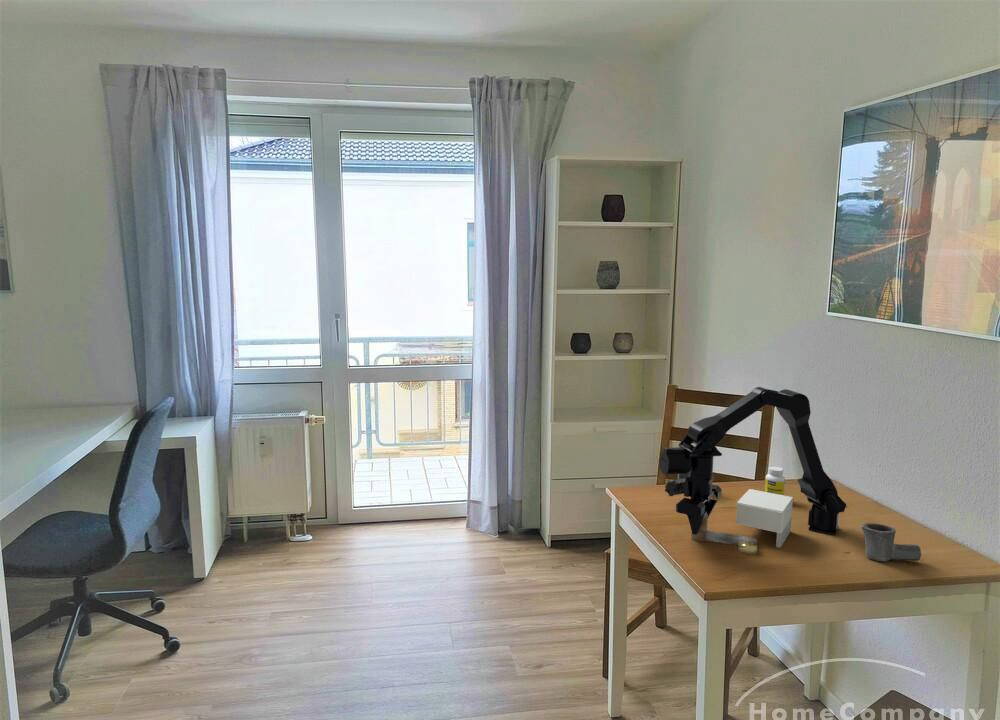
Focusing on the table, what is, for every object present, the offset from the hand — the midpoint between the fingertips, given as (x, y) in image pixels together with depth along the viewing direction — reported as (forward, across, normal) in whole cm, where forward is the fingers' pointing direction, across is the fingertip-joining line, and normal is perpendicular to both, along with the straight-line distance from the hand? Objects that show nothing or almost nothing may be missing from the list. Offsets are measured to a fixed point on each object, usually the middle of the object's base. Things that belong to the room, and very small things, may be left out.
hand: (697, 530), depth 170 cm
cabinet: (+2, -12, +14) cm, 18 cm away
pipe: (+2, -14, +42) cm, 44 cm away
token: (+2, +1, +13) cm, 13 cm away
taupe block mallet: (+2, -2, +6) cm, 7 cm away
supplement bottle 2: (+2, -41, +10) cm, 42 cm away
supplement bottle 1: (+2, -35, -14) cm, 38 cm away
